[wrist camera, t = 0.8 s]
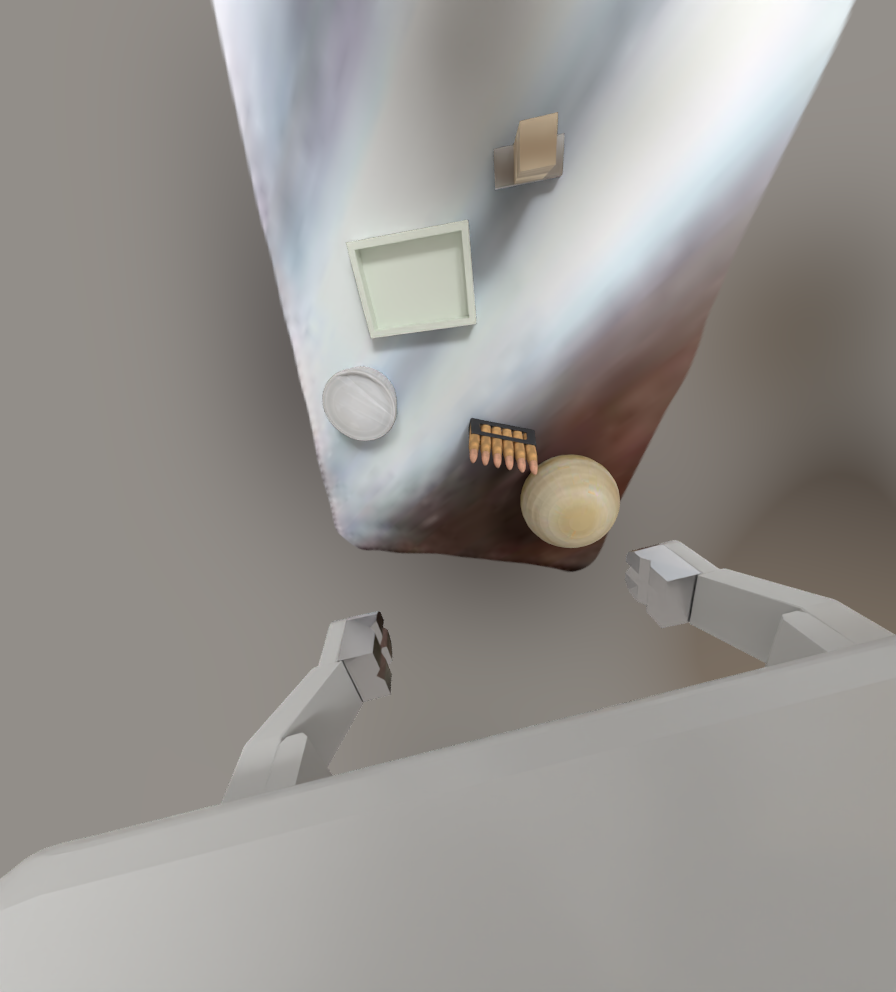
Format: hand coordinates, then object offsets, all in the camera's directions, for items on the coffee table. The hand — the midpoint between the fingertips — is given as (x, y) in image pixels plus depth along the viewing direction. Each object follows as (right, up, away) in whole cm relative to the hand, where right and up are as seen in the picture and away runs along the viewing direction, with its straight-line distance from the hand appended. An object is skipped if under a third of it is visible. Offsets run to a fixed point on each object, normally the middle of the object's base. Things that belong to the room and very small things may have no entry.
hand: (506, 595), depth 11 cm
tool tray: (-6, +31, +32) cm, 45 cm away
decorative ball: (+18, +7, +48) cm, 52 cm away
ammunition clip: (+7, +15, +44) cm, 47 cm away
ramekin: (-15, +20, +43) cm, 49 cm away
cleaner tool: (+7, +39, +25) cm, 46 cm away
